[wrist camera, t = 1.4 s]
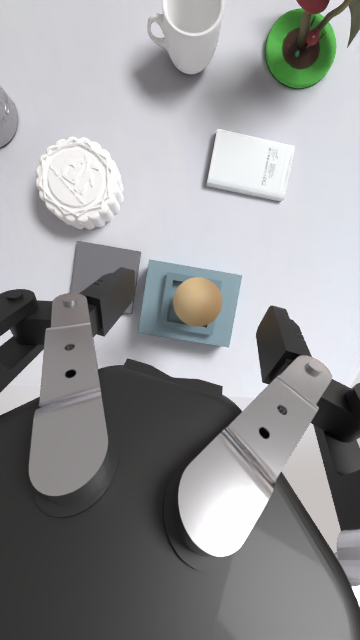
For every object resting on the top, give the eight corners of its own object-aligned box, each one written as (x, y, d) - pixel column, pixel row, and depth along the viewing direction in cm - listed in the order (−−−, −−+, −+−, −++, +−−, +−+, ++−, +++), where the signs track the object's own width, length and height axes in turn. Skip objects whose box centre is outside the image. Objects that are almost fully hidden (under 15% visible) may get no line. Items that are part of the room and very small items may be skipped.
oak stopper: (172, 316, 29) (169, 322, 18) (177, 286, 29) (177, 273, 18) (202, 321, 29) (217, 330, 18) (207, 291, 29) (226, 281, 18)
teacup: (214, 30, 30) (223, -31, 24) (216, 84, 30) (225, 36, 25) (149, 32, 29) (143, -30, 24) (152, 86, 30) (146, 38, 25)
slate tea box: (141, 330, 32) (136, 333, 28) (151, 264, 32) (148, 257, 28) (224, 343, 33) (230, 348, 29) (235, 278, 32) (244, 274, 28)
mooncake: (139, 196, 31) (135, 181, 28) (85, 246, 31) (73, 238, 28) (88, 136, 30) (76, 113, 27) (32, 188, 31) (13, 172, 27)
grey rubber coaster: (71, 303, 32) (69, 303, 31) (79, 242, 31) (77, 240, 31) (131, 313, 32) (131, 313, 31) (140, 252, 31) (140, 251, 31)
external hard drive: (215, 136, 31) (290, 152, 31) (205, 188, 32) (279, 203, 32) (217, 126, 29) (296, 144, 30) (206, 182, 30) (284, 198, 30)
